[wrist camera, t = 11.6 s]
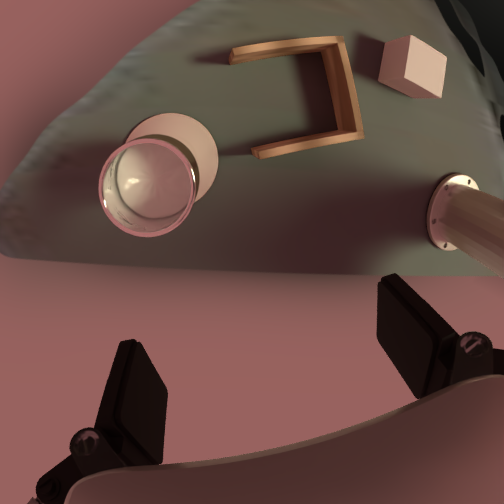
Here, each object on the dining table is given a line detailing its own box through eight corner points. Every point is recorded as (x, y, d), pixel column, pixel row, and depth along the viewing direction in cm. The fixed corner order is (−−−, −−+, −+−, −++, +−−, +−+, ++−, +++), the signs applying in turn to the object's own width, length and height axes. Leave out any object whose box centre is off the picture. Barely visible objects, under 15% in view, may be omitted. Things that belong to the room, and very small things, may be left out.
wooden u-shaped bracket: (325, 45, 29) (342, 35, 25) (345, 135, 34) (364, 138, 30) (228, 58, 29) (232, 48, 24) (252, 154, 34) (260, 159, 29)
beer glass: (143, 195, 33) (104, 244, 19) (137, 134, 30) (89, 143, 17) (203, 189, 34) (203, 235, 20) (200, 128, 31) (196, 129, 17)
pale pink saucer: (204, 101, 30) (204, 101, 30) (228, 193, 35) (228, 194, 35) (111, 132, 30) (109, 132, 30) (139, 219, 35) (138, 221, 34)
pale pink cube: (377, 81, 32) (403, 77, 26) (384, 42, 30) (410, 34, 24) (412, 98, 33) (441, 98, 28) (419, 61, 31) (447, 57, 26)
